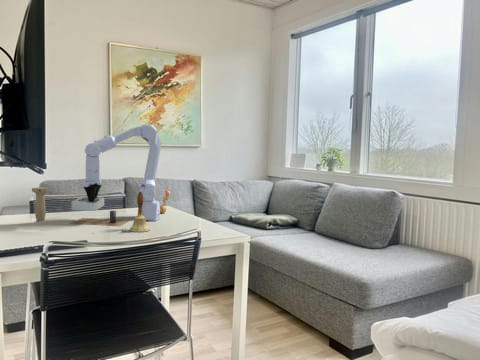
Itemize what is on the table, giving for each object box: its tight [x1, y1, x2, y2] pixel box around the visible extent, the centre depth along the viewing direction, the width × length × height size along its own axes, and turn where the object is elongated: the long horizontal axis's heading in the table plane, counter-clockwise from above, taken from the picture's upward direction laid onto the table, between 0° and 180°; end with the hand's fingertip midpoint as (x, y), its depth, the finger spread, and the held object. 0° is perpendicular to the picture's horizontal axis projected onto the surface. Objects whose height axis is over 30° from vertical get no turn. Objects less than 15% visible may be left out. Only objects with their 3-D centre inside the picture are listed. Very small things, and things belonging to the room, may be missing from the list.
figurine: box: [160, 189, 172, 214], centre depth 205 cm, size 8×6×12 cm
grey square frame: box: [71, 195, 105, 212], centre depth 173 cm, size 10×10×4 cm
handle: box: [31, 186, 50, 223], centre depth 170 cm, size 5×6×15 cm
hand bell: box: [129, 192, 151, 233], centre depth 164 cm, size 8×8×16 cm
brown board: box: [68, 210, 131, 227], centre depth 173 cm, size 22×13×6 cm, turn 87°
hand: (92, 201), depth 177 cm, fingers closed on grey square frame, 2 cm apart
